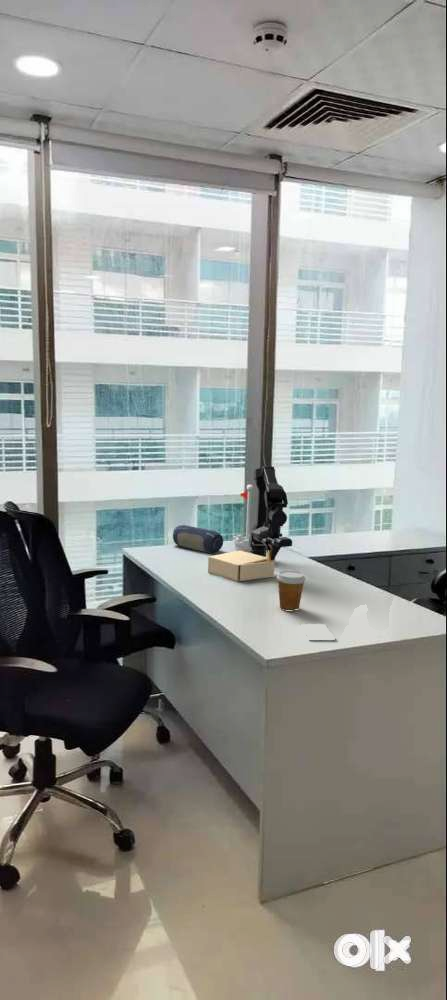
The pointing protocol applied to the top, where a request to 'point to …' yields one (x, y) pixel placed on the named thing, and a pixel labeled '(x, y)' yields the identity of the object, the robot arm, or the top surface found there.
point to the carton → (232, 563)
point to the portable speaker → (198, 538)
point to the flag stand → (240, 541)
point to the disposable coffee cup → (290, 589)
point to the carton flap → (257, 569)
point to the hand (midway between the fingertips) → (271, 559)
